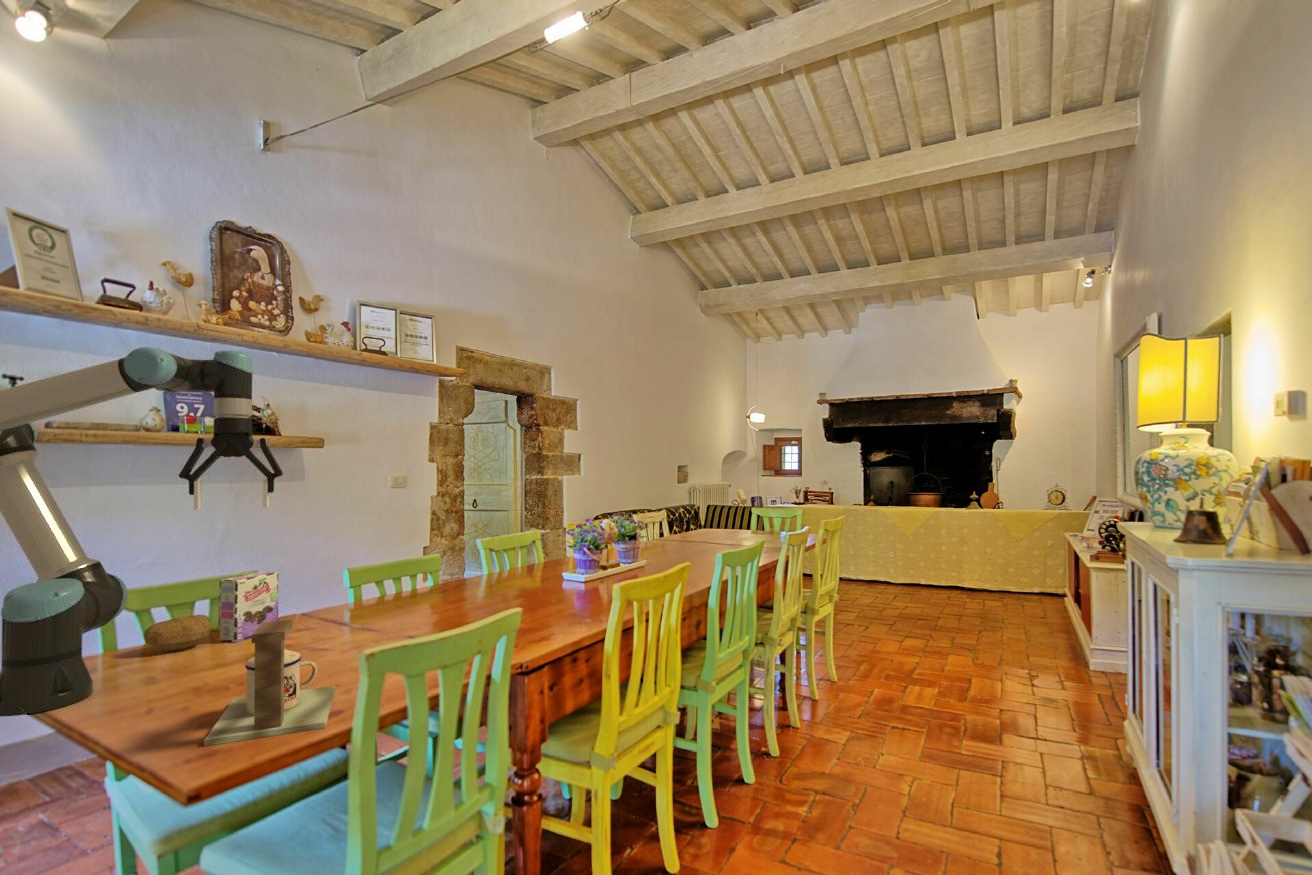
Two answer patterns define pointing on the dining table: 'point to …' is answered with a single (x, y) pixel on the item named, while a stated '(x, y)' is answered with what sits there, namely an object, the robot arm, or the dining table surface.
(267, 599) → the candy box
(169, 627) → the potato
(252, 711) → the teacup with lid
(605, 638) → the dining table surface
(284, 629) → the stand
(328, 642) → the dining table surface
